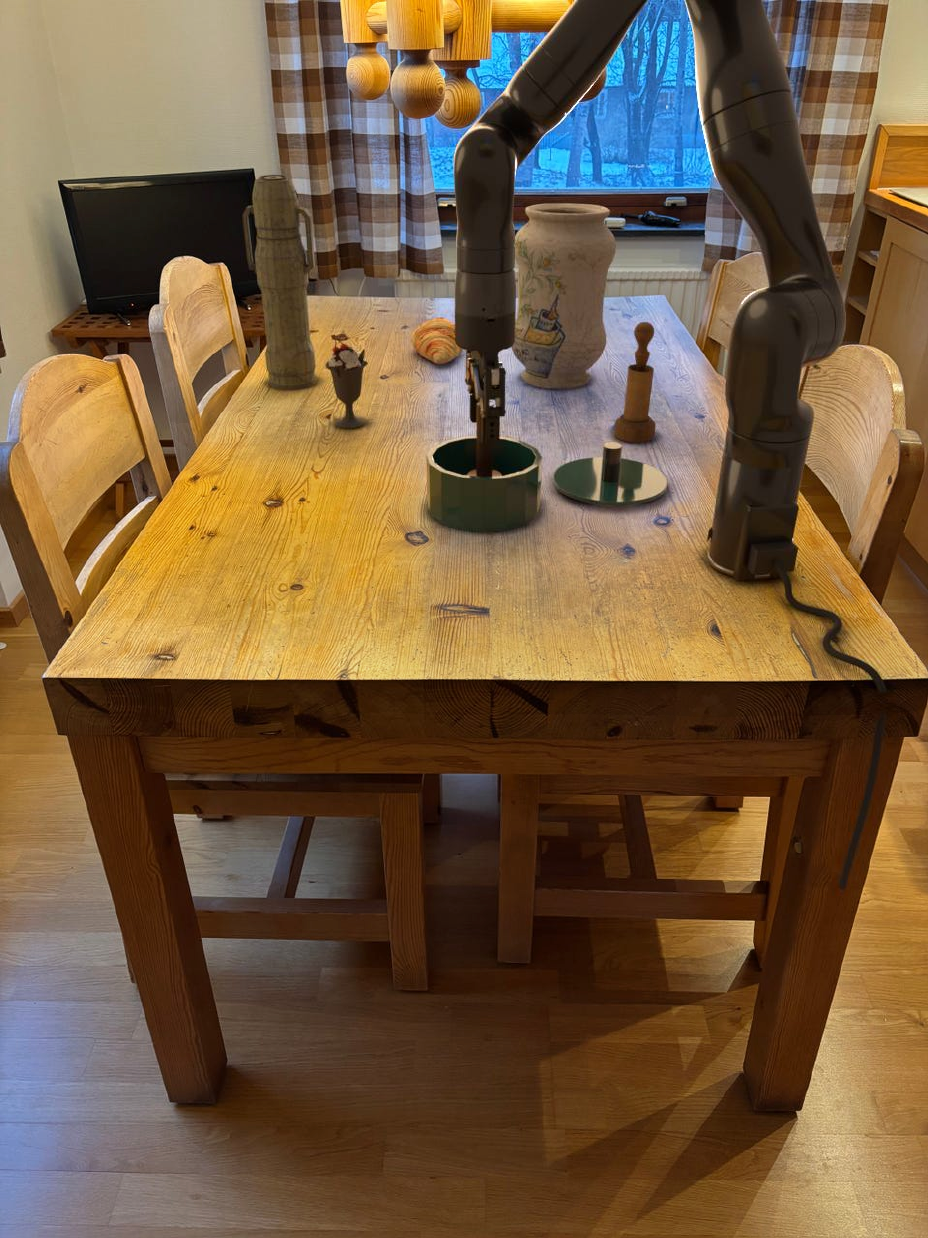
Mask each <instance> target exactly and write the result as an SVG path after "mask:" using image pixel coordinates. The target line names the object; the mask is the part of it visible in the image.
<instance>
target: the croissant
mask: <svg viewBox="0 0 928 1238" xmlns="http://www.w3.org/2000/svg"><path fill="white" fill-rule="evenodd" d="M410 342H411V346H412V347H413V348H414V350H415V351H416V353H418V354H419V355H420V356H422V357H424V358H426V359H427V360H429V361H431V362H433V363H434V364H437V365H444V364H447V363H450V362H451V361H453V360H454V359H456V358H457V357H458V356H459V355H461V354H462V353H463V349H461V348H459V347H458V346H457V345H456V343H455V322H454V323H453V321H451V320H448V319H446V318H444V317H435V318H431V319H428V320H425V321H424V322H422V323H421V324H420V325H419V326H418V327H416V328H415V330H414V331H413V333H412V334H411V337H410Z"/></svg>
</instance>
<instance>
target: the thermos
mask: <svg viewBox="0 0 928 1238" xmlns="http://www.w3.org/2000/svg"><path fill="white" fill-rule="evenodd" d="M251 201H252V205H248V206H246V207H245V209H244V211H243V213H242V215H241V217H242V226H243V233H244V243H245V252H246V253H245V254H246V260H247V265H248V270H249V271H254V274H256V280H257V285H258V287H259V289H260V292H261V300H262V311H263V319H264V328H265V337H266V347H265V352H264V357H265V367H266V371H267V372H268V384H269V386H270V387H272V388H273V389H274V388H275V389H280V390H300V389H301V390H302V389H305V388H309V387H311V386H314V385H315V384H316V383H317V377H316V367H317V365H316V354H315V351H316V350H315V349H314V344H313V342H312V340H311V330H310V329H311V328H310V317H309V306H308V305H309V304H308V292H307V289H308V285H309V272H311V271H312V270H313V269H314V267H315V266H316V259H315V245H314V244H315V243H314V223H313V220H314V219H313V215H312V214H311V212H310V211H309V209H308V208H307V207H304V206H301V205H300V204H299V195H298V192H297V189H296V187H295V184H294V181H293V179H292V178H291V177H288V175H283V174H267V175H260V176H259V177H258V178H255V180H254V185H253V189H252V200H251ZM250 214H251V215H252V214H253V218H254V226H255V229H256V234H257V235H256V238H255V239H256V246H255V251H254V256H253V246H252V240H251V239H252V238H251V230H250V229H251V227H250V220H249V219H250V218H249V215H250ZM300 214H301V215H302V217H303V218H304V225H305V238H306V249H305V246H304V243H303V240H302V234H301V232H300V231H301V230H300V226H301V217H300ZM306 250H307V251H306ZM254 260H255V263H254Z"/></svg>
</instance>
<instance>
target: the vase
mask: <svg viewBox="0 0 928 1238" xmlns="http://www.w3.org/2000/svg"><path fill="white" fill-rule="evenodd" d="M610 212H611V210H610V209H608V208H607V207H605V206H602V205H598V204H589V203H588V204H586V203H540V204H539V203H538V204H533V205H530V206H526V207H525V215H526V216H527V217H528V222H527V223H526V224H524V225H523V226H522V227H521V228H520V229H519V230H518V231H517V232H516V233H515V262H516V263H517V269H518V271H517V273H518V274H517V292H518V293H517V309H516V319H515V343H514V345H513V346H512V347H511V348H510V349H511V350H512V353H513V355H514V356H515V358H516V359H517V361H518V362H520V364H522V366H523V367H524V368H525V369H524V371H523V372H521V379H522V380H523V381H524V383H526V384H529V385H531V386H534V387H538V388H539V387H540V388H544V389H551V390H552V389H553V390H559V389H560V390H564V389H565V390H566V389H573V388H578V387H583V386H585V385H587V384H588V383H589V382H590V380H591V375H590V374H589V373H588V372H587V371H588V370H589V369H591V368H592V367H593V366H594V365H595V364H596V363H597V362H598V360H600V358H601V357H602V355H603V354H604V351H605V350H606V347H607V332H606V328H605V324H604V302H605V294H606V291H607V290H606V289H607V281H608V275H609V268H610V267H611V265H612V263H613V261H614V258H615V255H616V250H617V249H616V247H617V246H616V239H615V236H614V234H613V233H612V231H611V230H610V229H609V227H607V226H606V224H605V220H606V219H607V218H608V217H609V216H610Z"/></svg>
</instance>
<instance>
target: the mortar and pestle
mask: <svg viewBox="0 0 928 1238" xmlns="http://www.w3.org/2000/svg"><path fill="white" fill-rule="evenodd" d="M633 335H634V338H635V340H636V343H637V345H638V346H637V348H636V349H637V350H636V351H634V358H635V363H634V364H631V365H629V366H628V367H627V377H626V378H627V379H626V388H625V389H626V390H625V399H624V406H623V407H624V408H623V413H622V414H621V415H620V416H618V417H617V418H616V419H615V421H614V429H613V435H614V437H615V438H617V439H618V440H620V441H624V442H627V443H637V444H639V443H641V444H642V443H647V442H649V441H652V440H653V439H654V438H655V434H656V424H657V423H656V421H655V420H654V419H653V418H652V416H650V415H649V413H650V405H651V404H650V403H651V396H652V389H653V379H654V370H655V368H654V367H653V366H651V365H649V364H648V361H649V359H650V355H651V352H650V351H649V350H648V346H649V344H650V342H651V341H652V339H653V337H654V336H655V328H654V326H653V324H652V323H651V322H648V321H641V322H638V324H637V325H636V326H635V327H634V330H633Z"/></svg>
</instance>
